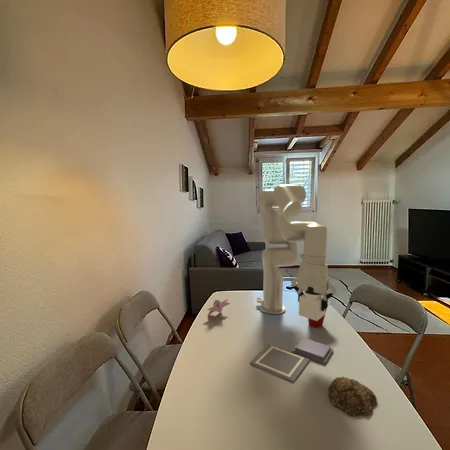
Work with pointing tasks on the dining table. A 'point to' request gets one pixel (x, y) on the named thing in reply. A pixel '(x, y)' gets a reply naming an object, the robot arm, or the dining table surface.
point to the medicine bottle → (311, 305)
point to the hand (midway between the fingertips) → (312, 306)
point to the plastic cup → (320, 321)
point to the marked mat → (280, 362)
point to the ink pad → (313, 350)
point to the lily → (218, 306)
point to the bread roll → (351, 396)
